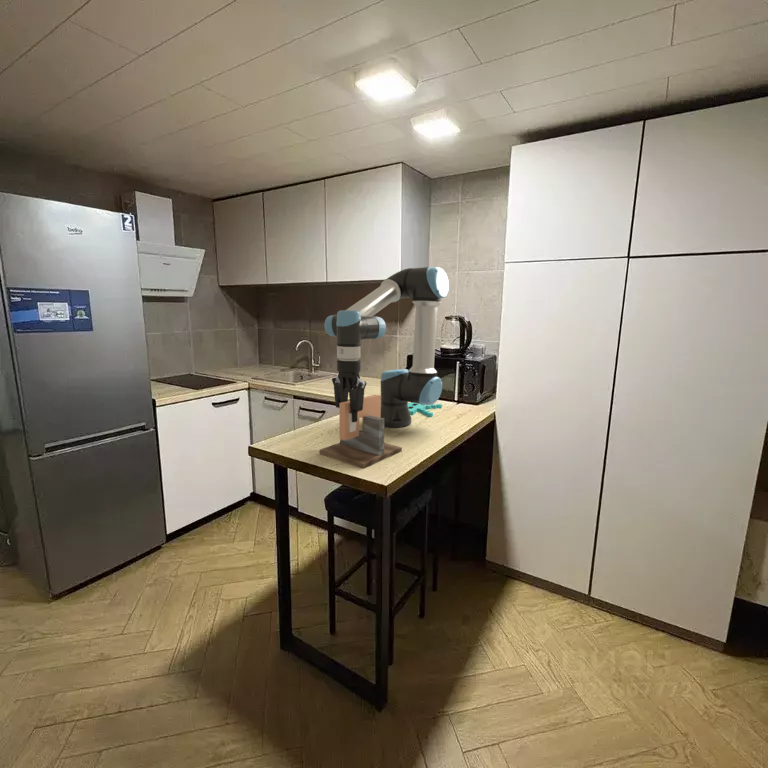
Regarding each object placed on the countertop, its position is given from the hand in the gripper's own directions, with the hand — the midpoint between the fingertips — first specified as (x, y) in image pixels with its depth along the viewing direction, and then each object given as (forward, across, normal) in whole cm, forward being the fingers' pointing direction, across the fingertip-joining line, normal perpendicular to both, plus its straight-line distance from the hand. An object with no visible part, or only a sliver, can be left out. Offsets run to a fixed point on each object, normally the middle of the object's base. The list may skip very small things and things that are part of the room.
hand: (348, 430), depth 138 cm
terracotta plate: (+3, 0, +6) cm, 6 cm away
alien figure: (+10, -19, +68) cm, 71 cm away
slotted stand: (+10, 0, +6) cm, 11 cm away
